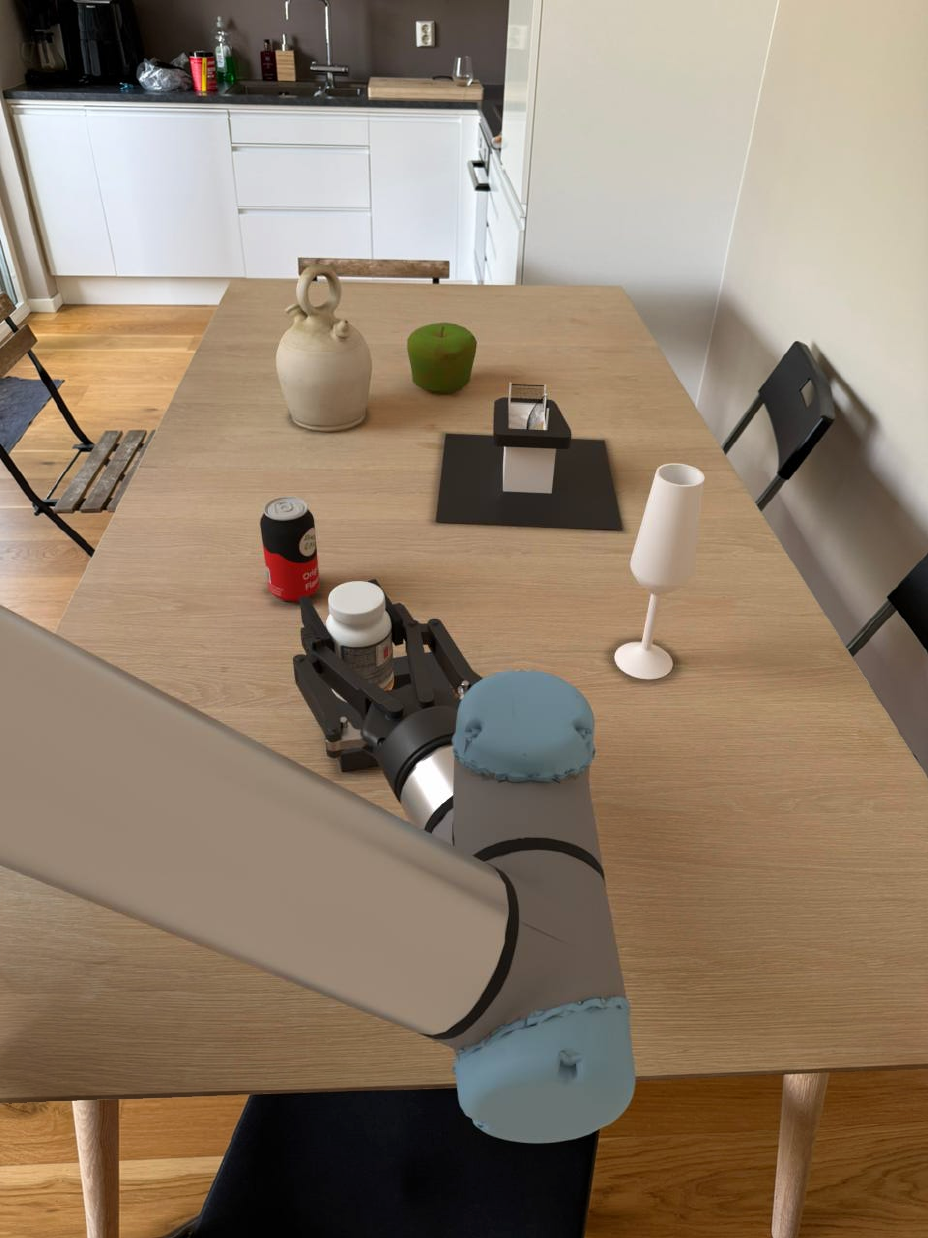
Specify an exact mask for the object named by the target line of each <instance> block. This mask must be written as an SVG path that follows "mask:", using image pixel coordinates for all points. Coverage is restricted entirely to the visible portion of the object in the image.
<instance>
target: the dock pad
mask: <svg viewBox="0 0 928 1238" xmlns="http://www.w3.org/2000/svg"><path fill="white" fill-rule="evenodd" d="M425 657H426V662H427V667H428V669H429V673H430V678H431V683H432V688H434V689H436V690H439V691H441V692H444V693H447V694H449V695H452V696H454V697H456V696H455V693H454V689H453V687H452V686H451V684H450V682H449V681H448V679H447V677H446V676H445V674H444V672H443V671H442V669H441V667H440V666H439V664H438V662H437V661H436V659H435V657H434V656H433V654H432V652H431V651H427V652H425ZM393 667H394V684H393V687H392V689H391V690H394V689H399V688H401V687H403V686H405V685H407V684H411V677H410V671H409V665H408V659H407V655H403V656H402V655H401V656H396V657H395V656H394V657H393ZM320 679H321V678H320ZM321 680H322V679H321ZM322 682H323V684H324V685H325V687H326V689H327V690H328V692H329V694H330V695H331V697H332V699H333V700H334V702H335V703H336V705H337V707H338V709H339V712H340V718H341V717H346V718H347V721H348V722H350V723H351V725H352V727H353V728H355V729H358V730H361V728H362V725H363V723H364V721H363V719H362V718H361V715H360V713H359V712H358V711H357V710H356V709H354V708H353V707H352V706H351V705H350V704H349V703H347V702H345V701H343V700H341V699H340V698H338V697H337V696H336V695H335V694H334V692H333V691H332V688H331V687H330V686H328V685H327V684H326V683H325V682H324V681H323V680H322ZM337 759H338V762H339V767H340V771H341V773H344V772H349V771H355V770H359V769H365V768H371V767H376V766H379V764H378V762H377V760H376V759H375V758H374V757H373V756H371V755H370V754H368V753H366V752H365V751H364V750H363V748H350V749H343V753H342V755H341V756H340V757H338V758H337Z"/></svg>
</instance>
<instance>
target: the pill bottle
mask: <svg viewBox="0 0 928 1238" xmlns="http://www.w3.org/2000/svg"><path fill="white" fill-rule="evenodd" d="M381 588H382V587H381ZM381 588H379V587H378V586H376V585H375V584H372V583H369V582H368V581H362V580H361V581H359V580H356V581H355V580H354V581H349V582H348V581H347V582H344V583H341V584H339V585H338V586H336V587H335V588H333V589H332V590H331V591H330V592H329V595H328V598H327V601H328V612H329V615H328V616H327V618H326V621H325V624H324V625H325V627H326V629H327V631H328V633H329V634H330V636H331V638H332V649H333V652H334V653H335V654H336V655H337V656H338V657H340V658H341V659H342V660H343V661H344V662H346V663H347V664H348V665H349V666H350V667H351V668H353V669H354V670H355V671H356V672H357V673H359V674H360V675H361V676H362V677H363V678H364V679H366V680H367V681H368V682H369V683H371V682H375V683H376V684H377V685H378V686H379V687H381V688H382V689H383V690H384V691H386V690H391V689H392V687H393V684H394V667H393V658H394V646H393V645H394V643H393V642H392V624H391V619H390V617H389V615H388V613H387V612H386V611H385V596H384V593H383V591H384V590H383V591H382V590H381ZM332 691H333V692H334V694H335V695H336V696H337V697H338V698H340V699H341V700H343V701H345V700H344V699H343V698H342V697H341V696H340V695H339V694H337V693H336V692H335V691H334V690H333V689H332ZM345 702H346V701H345ZM347 703H348V702H347Z"/></svg>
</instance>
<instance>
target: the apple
mask: <svg viewBox="0 0 928 1238" xmlns="http://www.w3.org/2000/svg"><path fill="white" fill-rule="evenodd" d="M406 340H407V343H406V349H407V354H408V359H409V365H410V370H411V379H412V383H413V384H414V385H416V386H417V387H418V388H421V389H423V390H425V391H426V392H429V393H430V394H431V393H432V394H435V395H440V396H441V395H444V396H446V395H447V396H448V395H452V394H455V393H457V392H459V391H460V390H462V389H463V388H465V387H466V386H467V385H468V384H469V383H470V381H471V377H472V372H473V366H474V361H475V359H476V355H477V354H476V352H477V344H478V341H477V339H476V337H475V336H474V334H473V333H472V332H471V330H469V329H468V328H466V327H465V326H462V325H459V324H457V323H451V322H436V323H431V324H427V325H426V324H425V325H423V326H420V327H417V328H416V329H415V330H413V332H411V333H410V334H409V336H408V337H407V339H406Z"/></svg>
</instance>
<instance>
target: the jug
mask: <svg viewBox="0 0 928 1238" xmlns="http://www.w3.org/2000/svg"><path fill="white" fill-rule="evenodd" d="M319 275H322V276H324V278H325V279H326V280H327V281H326V282H327V283H328V294H327V298H326V300H325V301H324V302H323V303H322V304H321V305H318V306H314V305H312V303H311V302H310V298H309V289H310V286H311V283H312V282H313V281H314V279H315V278H316V277H317V276H319ZM295 288H296V289H295V293H296V299H297V302H295V303H292V304H290V305H289V306H287V307H286V308H285V313H286V314H288V315H289V316H290V317H291V318H292V319H293V325H292V326H291V327H289V329H287V330H286V331H285V332H284V334H283V335H282V337H281V339H280V341H279V344H278V346H277V351H276V354H275V355H276V357H275V366H276V373H277V376H278V381H279V385H280V388H281V392H282V394H283V398H284V400H285V403H286V406H287V410H288V412H289V413H290V416H291V419H292V421H293V423H295V424H296V426H298V427H301V428H303V429H305V430H310V431H316V432H326V433H327V432H329V433H330V432H340V431H347V430H349V429H352V428H354V427H356V426H358V425H360V424H361V423H362V422H363V421H364V419H365V417H366V410H367V406H368V401H369V396H370V388H371V381H372V380H371V379H372V372H373V362H372V361H373V360H372V355H371V351H370V350H371V349H370V348H369V345H368V343H367V341H366V339H365V338H364V335H363V334H362V333H361V331H360V330H358V329H357V328H356V327H355V326H353V325H352V324H351V323H350V322H349V321H348V320H347V319H340V318H337V317H336V315H335V311H336V309H337V308H338V307H339V304H340V302H341V299H342V284H341V281H340V278H339V276H338V274H337V273H336V272H335V270H333V268H331V267H329V266H327V265H325V264H323V263H313V264H311V265H309V266H308V267H306V268H305V269H304V270H303V271H302V273H301V274H300V275H299V277H298V280H297V283H296V287H295Z"/></svg>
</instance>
